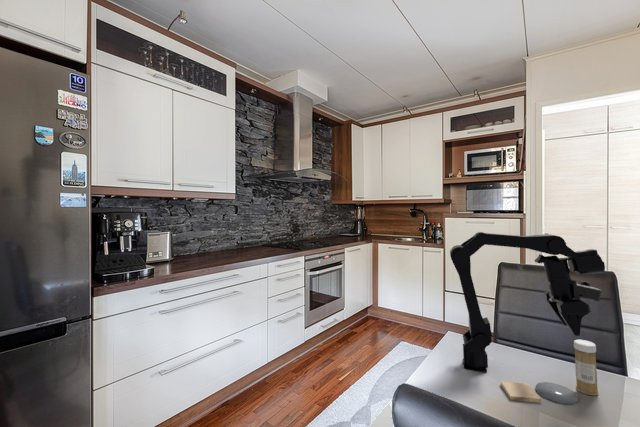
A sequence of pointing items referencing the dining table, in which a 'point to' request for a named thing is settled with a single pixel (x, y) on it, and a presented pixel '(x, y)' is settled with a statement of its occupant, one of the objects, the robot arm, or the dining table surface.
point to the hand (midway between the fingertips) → (571, 330)
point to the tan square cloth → (520, 392)
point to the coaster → (556, 393)
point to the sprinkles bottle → (586, 367)
